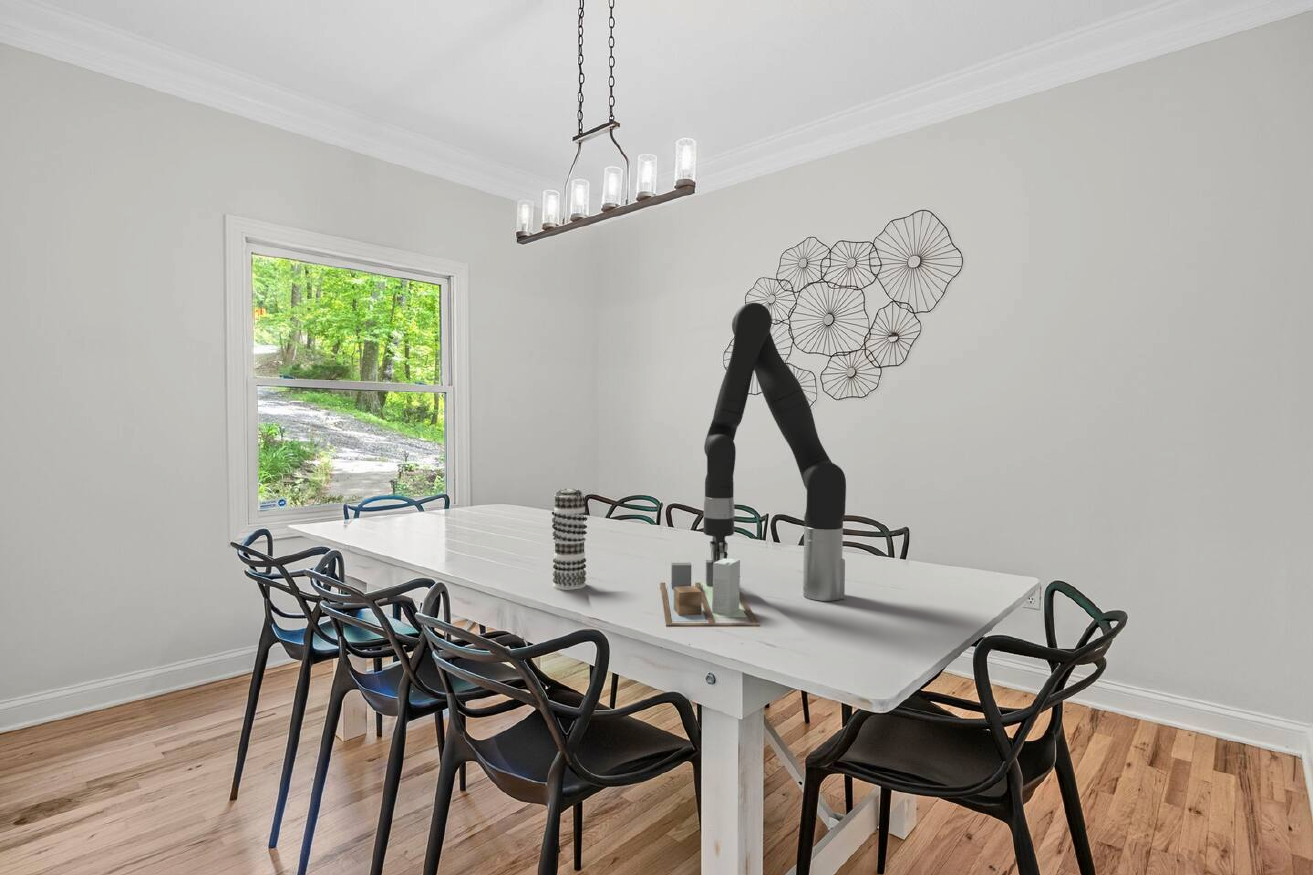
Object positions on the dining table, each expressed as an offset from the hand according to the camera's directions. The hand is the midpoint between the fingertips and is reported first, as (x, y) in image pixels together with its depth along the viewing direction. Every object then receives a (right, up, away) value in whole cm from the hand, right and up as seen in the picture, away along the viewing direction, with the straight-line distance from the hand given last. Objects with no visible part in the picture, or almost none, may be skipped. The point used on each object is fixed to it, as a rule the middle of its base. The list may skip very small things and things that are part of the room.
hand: (718, 585), depth 167 cm
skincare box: (0, -3, -18) cm, 18 cm away
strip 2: (0, -3, -7) cm, 8 cm away
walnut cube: (-8, -2, -18) cm, 20 cm away
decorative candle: (-38, -2, +9) cm, 39 cm away
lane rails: (-4, -3, -10) cm, 11 cm away
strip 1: (-9, -3, -10) cm, 14 cm away
